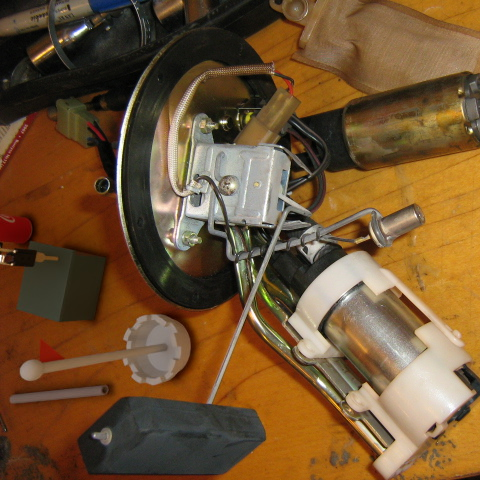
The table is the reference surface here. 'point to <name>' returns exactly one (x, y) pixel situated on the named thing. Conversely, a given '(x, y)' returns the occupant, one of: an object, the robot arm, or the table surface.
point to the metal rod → (59, 394)
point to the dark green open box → (84, 287)
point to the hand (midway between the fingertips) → (17, 254)
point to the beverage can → (14, 229)
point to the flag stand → (128, 352)
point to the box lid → (46, 282)
